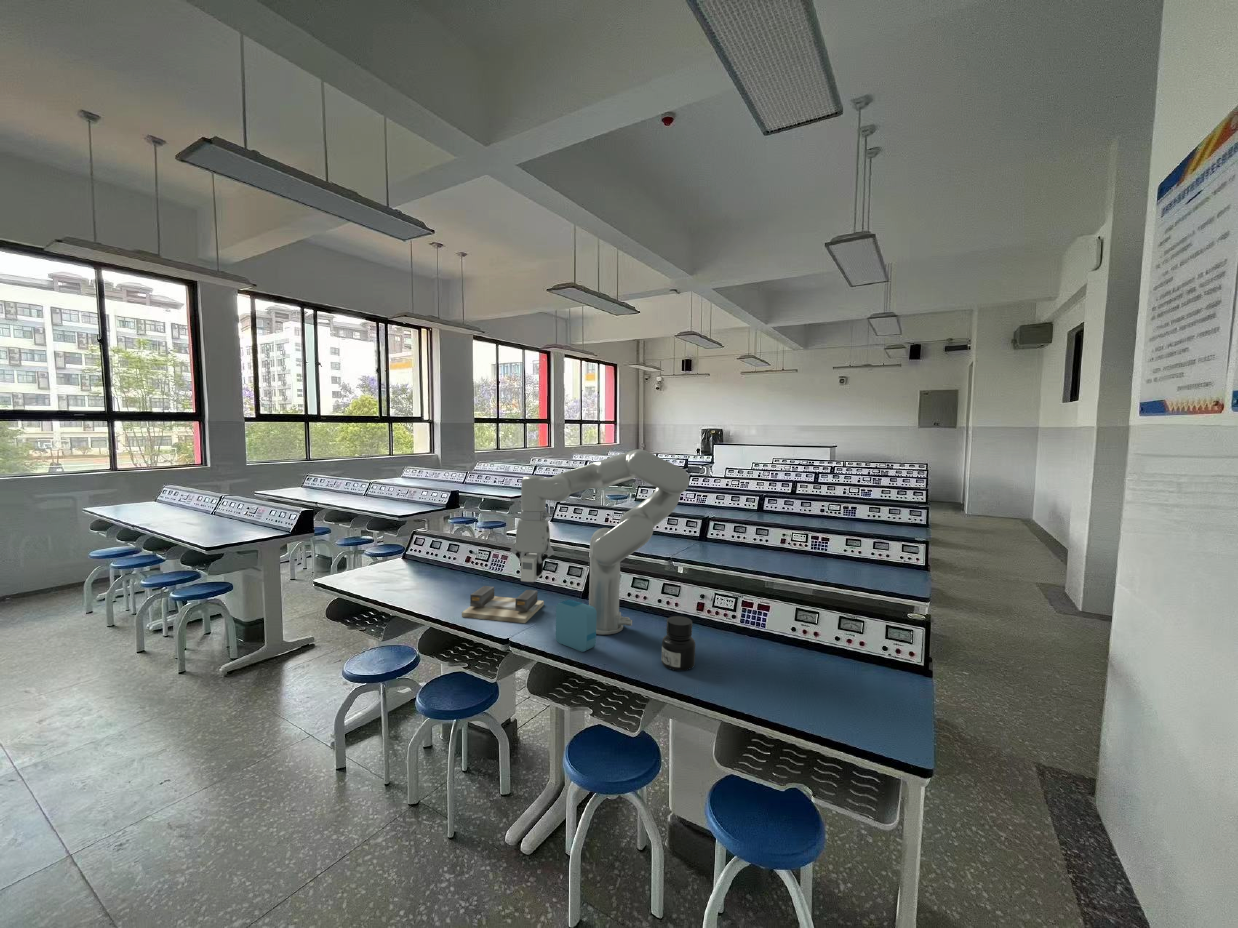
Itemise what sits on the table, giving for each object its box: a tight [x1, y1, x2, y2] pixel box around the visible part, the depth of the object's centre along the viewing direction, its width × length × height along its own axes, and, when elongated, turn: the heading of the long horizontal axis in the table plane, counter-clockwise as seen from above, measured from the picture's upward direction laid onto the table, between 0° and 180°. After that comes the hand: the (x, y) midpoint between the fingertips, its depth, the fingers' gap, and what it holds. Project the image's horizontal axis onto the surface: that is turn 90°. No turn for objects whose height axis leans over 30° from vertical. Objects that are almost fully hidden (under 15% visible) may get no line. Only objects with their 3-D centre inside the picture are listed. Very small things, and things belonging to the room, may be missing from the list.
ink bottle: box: [661, 615, 696, 671], centre depth 135 cm, size 10×9×12 cm
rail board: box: [461, 585, 545, 624], centre depth 172 cm, size 22×18×6 cm
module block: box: [520, 553, 543, 583], centre depth 156 cm, size 4×8×7 cm, turn 170°
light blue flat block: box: [555, 598, 597, 653], centre depth 146 cm, size 12×4×12 cm, turn 52°
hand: (531, 573), depth 157 cm, fingers closed on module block, 4 cm apart
